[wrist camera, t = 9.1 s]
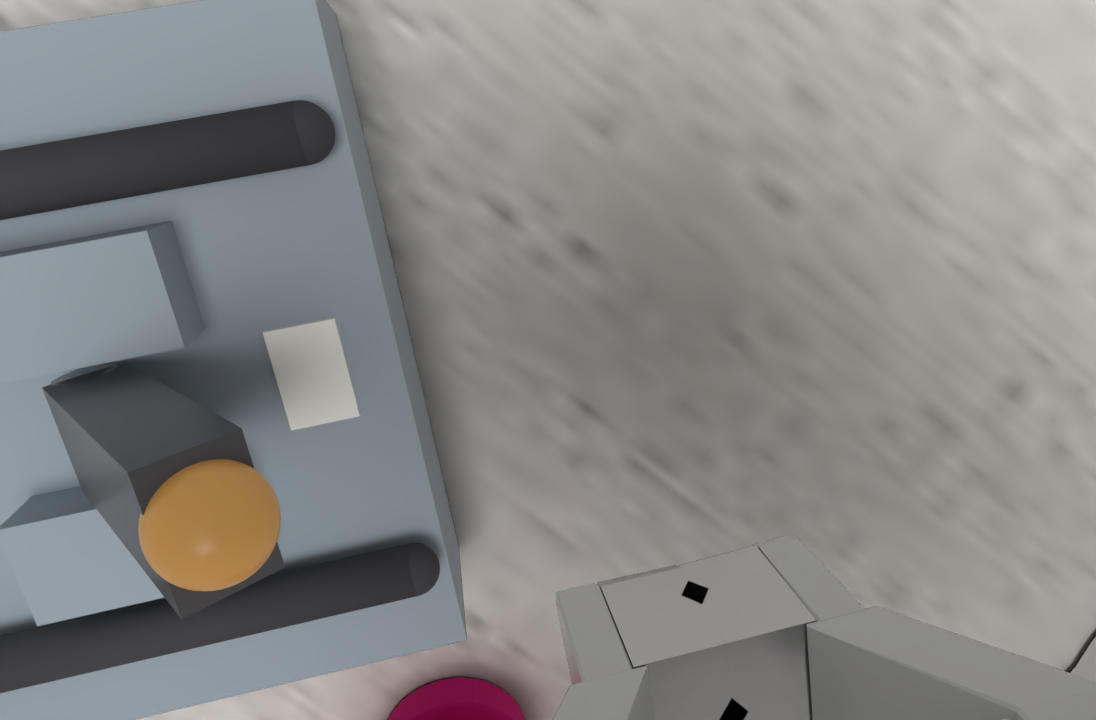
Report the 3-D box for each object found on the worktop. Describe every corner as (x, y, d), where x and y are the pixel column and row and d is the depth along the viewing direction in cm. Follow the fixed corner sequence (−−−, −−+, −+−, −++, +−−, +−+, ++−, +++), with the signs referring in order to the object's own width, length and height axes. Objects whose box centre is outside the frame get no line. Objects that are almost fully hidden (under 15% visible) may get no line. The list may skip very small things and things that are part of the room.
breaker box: (335, 14, 25) (299, -32, 18) (459, 547, 32) (470, 680, 24) (-190, 98, 24) (-472, 87, 16) (47, 641, 30) (-79, 814, 23)
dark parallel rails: (329, 96, 21) (322, 93, 19) (444, 571, 25) (445, 600, 24) (-312, 205, 19) (-375, 212, 18) (-69, 690, 24) (-102, 728, 22)
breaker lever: (125, 355, 22) (277, 437, 14) (159, 452, 23) (320, 583, 15) (28, 385, 21) (132, 495, 12) (68, 486, 22) (190, 652, 13)
